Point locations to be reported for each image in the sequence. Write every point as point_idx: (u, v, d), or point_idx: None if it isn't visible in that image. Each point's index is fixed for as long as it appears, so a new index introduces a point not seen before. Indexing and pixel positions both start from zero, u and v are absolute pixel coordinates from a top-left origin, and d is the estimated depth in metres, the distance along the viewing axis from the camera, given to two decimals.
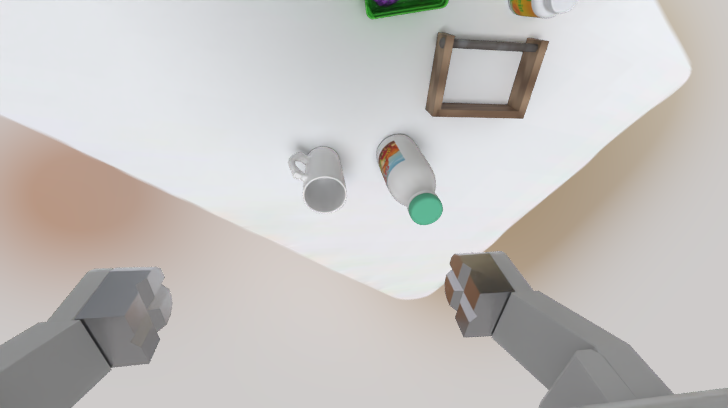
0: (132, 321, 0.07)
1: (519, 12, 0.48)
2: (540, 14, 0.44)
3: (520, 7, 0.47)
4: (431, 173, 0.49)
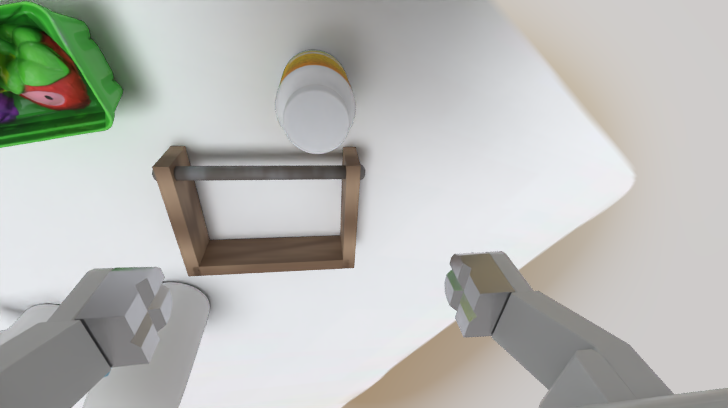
0: (132, 321, 0.07)
1: None
2: None
3: None
4: (145, 407, 0.27)
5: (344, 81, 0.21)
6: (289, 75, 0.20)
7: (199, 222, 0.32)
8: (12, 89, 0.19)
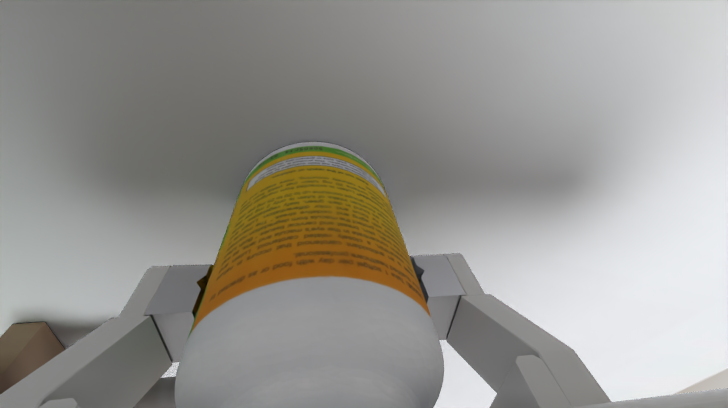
0: None
1: None
2: None
3: None
4: None
5: (418, 326, 0.06)
6: (216, 326, 0.05)
7: None
8: None
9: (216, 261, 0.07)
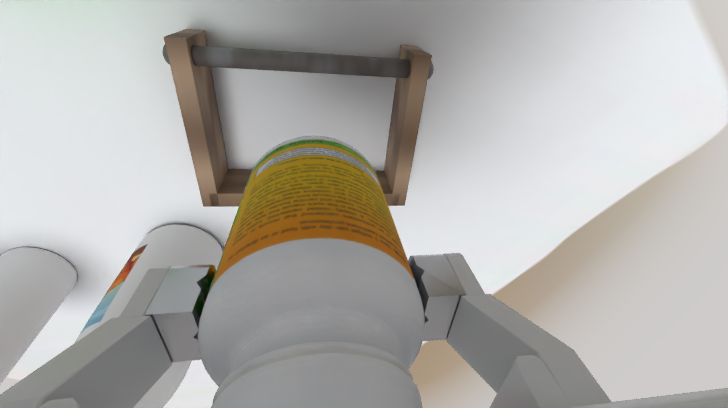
0: (197, 317, 0.07)
1: None
2: None
3: None
4: None
5: (402, 281, 0.07)
6: (235, 276, 0.06)
7: (218, 139, 0.25)
8: None
9: (230, 234, 0.09)
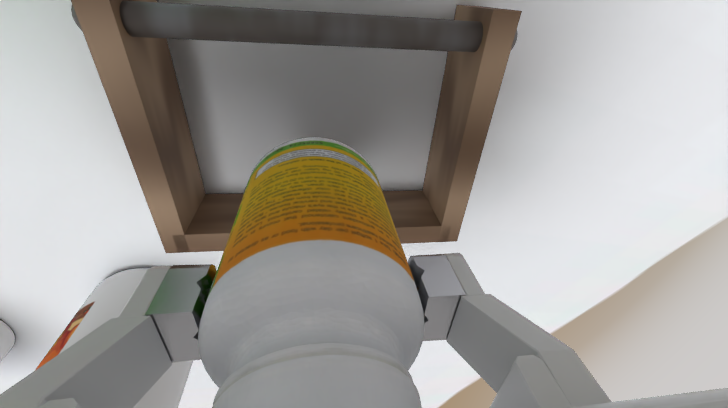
0: (197, 317, 0.07)
1: None
2: None
3: None
4: None
5: (401, 283, 0.07)
6: (235, 278, 0.06)
7: (185, 154, 0.17)
8: None
9: (230, 235, 0.09)
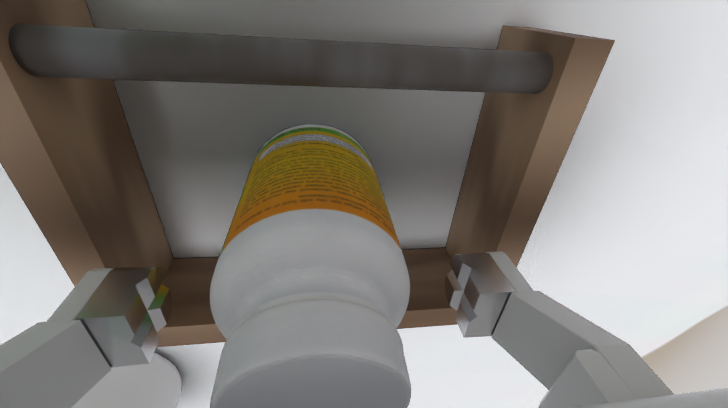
0: (132, 321, 0.07)
1: None
2: None
3: None
4: None
5: (388, 247, 0.08)
6: (242, 241, 0.07)
7: (140, 219, 0.13)
8: None
9: (236, 210, 0.10)
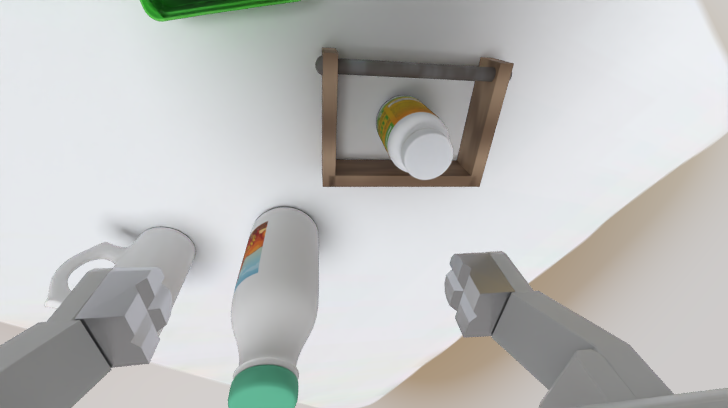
0: (132, 322, 0.07)
1: None
2: (404, 170, 0.28)
3: None
4: (300, 301, 0.26)
5: (444, 124, 0.27)
6: (403, 119, 0.26)
7: None
8: None
9: (389, 119, 0.29)
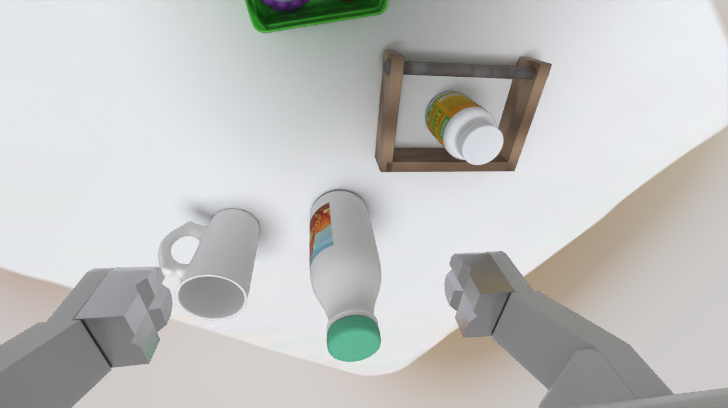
0: (132, 321, 0.07)
1: None
2: (456, 157, 0.33)
3: None
4: (371, 268, 0.32)
5: None
6: (459, 113, 0.31)
7: None
8: None
9: (443, 113, 0.33)
